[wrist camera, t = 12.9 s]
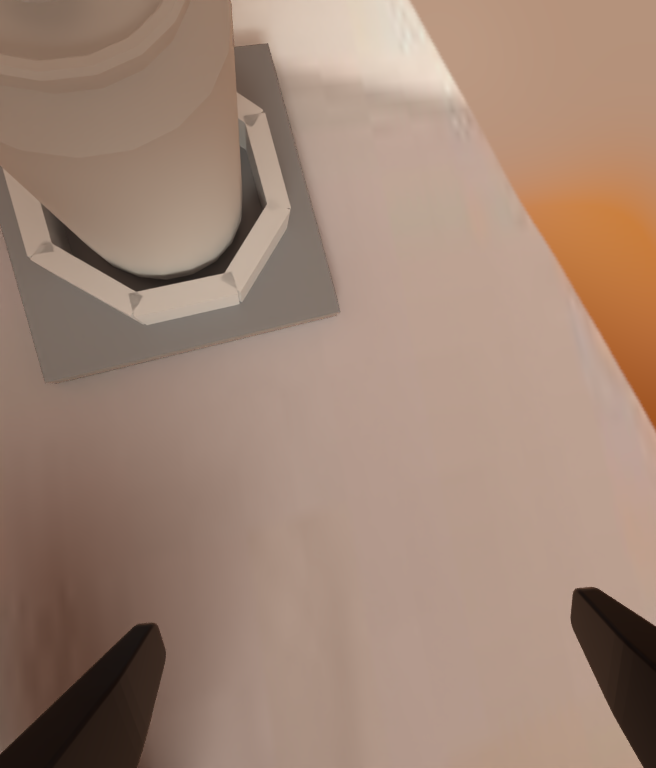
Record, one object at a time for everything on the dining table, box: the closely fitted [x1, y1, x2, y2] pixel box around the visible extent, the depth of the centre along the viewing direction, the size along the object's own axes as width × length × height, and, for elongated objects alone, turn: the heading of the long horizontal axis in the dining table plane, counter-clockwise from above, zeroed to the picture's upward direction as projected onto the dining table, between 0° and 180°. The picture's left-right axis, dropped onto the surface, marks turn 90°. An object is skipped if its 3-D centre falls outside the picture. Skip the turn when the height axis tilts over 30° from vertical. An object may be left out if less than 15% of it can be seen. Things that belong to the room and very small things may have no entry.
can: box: [0, 0, 243, 280], centre depth 13 cm, size 8×8×12 cm
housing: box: [0, 43, 340, 384], centre depth 19 cm, size 14×14×3 cm
